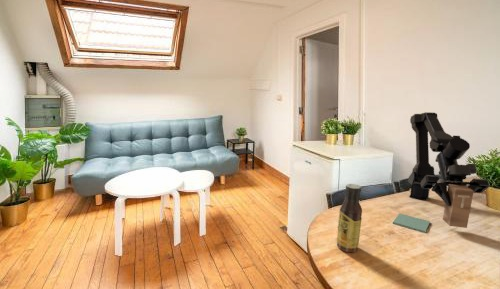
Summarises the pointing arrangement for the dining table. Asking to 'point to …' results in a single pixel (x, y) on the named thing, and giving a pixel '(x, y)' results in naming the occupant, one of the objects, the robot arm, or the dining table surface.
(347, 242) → the sauce bottle
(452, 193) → the letter block
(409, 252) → the dining table surface
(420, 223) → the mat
